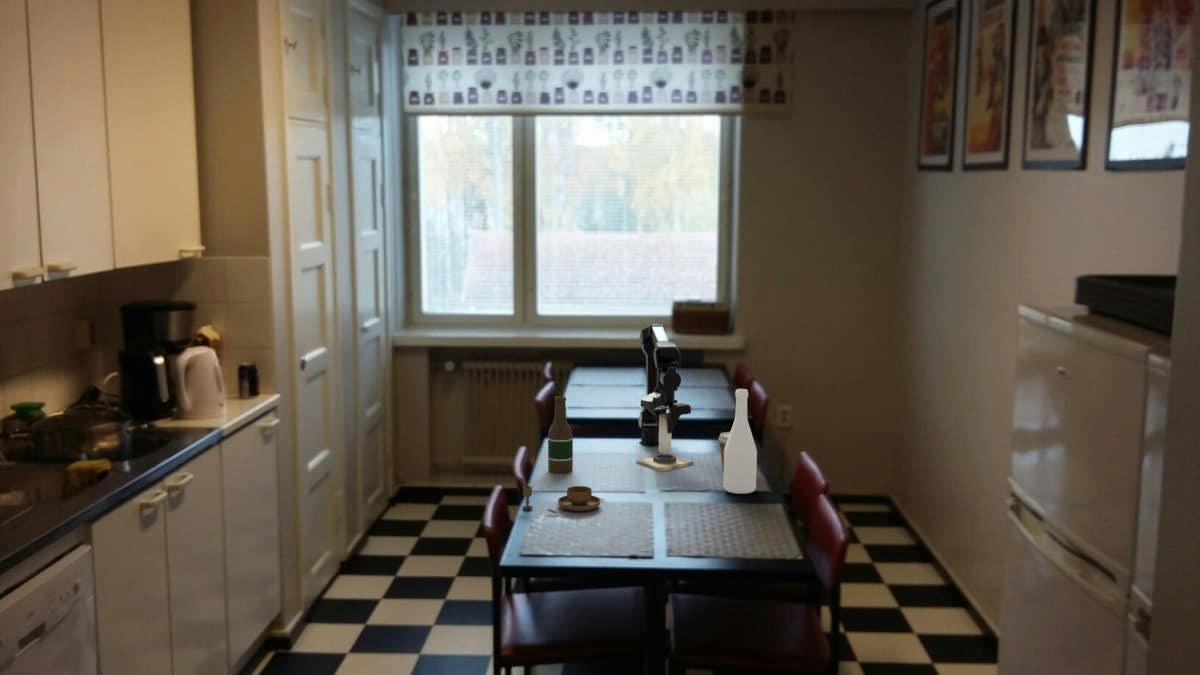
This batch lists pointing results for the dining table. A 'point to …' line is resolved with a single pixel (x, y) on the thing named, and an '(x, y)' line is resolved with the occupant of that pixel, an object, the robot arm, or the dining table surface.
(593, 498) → the place setting
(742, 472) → the wine bottle
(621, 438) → the dining table surface
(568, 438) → the beer bottle
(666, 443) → the peg
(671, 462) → the eye plate
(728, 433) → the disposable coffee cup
